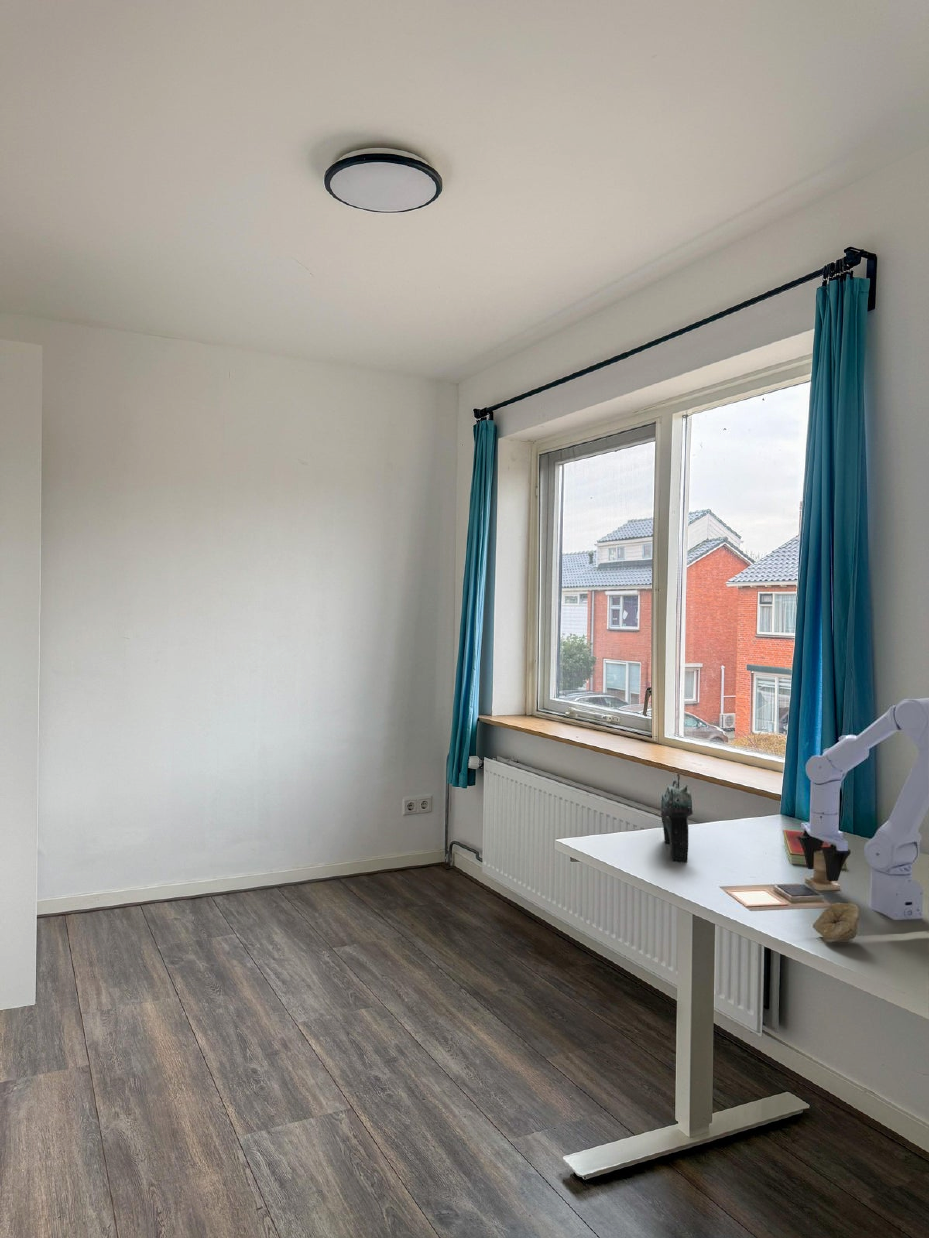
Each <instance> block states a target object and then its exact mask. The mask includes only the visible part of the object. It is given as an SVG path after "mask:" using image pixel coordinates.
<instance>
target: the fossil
mask: <svg viewBox="0 0 929 1238" xmlns="http://www.w3.org/2000/svg"><path fill="white" fill-rule="evenodd" d="M860 911H861V910H860V909H859V907H858V906H857V905H856V904H855V903H842V902H836V903H832V904H831V906H829V907H828V908H824V910H823V911H822V913H821V914H820V916H819V917H818V918H817V920H815V922H813V924H812V928H813V929H814V930H815V931H816V932H817V933H818V934H820V936H818V937H819V939H821V940H822V941H823V942H827V943H847V942H849V941H851V940H853V939H855V938H856V937H857V935H858V923H859V921H860V914H861V913H860Z"/></svg>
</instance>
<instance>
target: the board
mask: <svg viewBox="0 0 929 1238" xmlns="http://www.w3.org/2000/svg"><path fill="white" fill-rule="evenodd" d="M799 884H800V883H777V884H776V883H774V884H749V885H748V884H747V885H726V886H725V885H724V886H723V885H722V886H721V885H720V886H718V887H719V888H720V889H721V890H723V891H724V892H725V890H748V889H767V890H768V891H770V892H771V893H772V894H774V895H775V896H777V897H778V898H780V899H781V900H783V901H784V902H786V903H787V904H788V905H782V906H759V907H745V906H744V905H742V906H744V907H745V908H746V909H747V910H749V911H751V912H760V911H780V910H802V909H803V910H805V909H827V908H828V907H829V906H831V905H832V904H831V903H830V902H828V901H827V900H825V899H823V901H809V902H790V901H789V900H787V899H786V898H784V897H783V896H781V895H780V894H778V893H777V892H775V891H774V886H776V885H799ZM725 893H727V892H725ZM727 894H728V893H727ZM729 896H730V897H732V896H731V895H729ZM733 899H734V900H736V899H735V898H733ZM737 902H738V903H740V902H739V901H737Z"/></svg>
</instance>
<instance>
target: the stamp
mask: <svg viewBox="0 0 929 1238" xmlns="http://www.w3.org/2000/svg"><path fill="white" fill-rule="evenodd" d="M804 883H805V884H806V885H808V886H811V887H812V888H813V889H815V891H816V890H817V891H835V890H838V891H839V890H840V889H841V884H839V883H837V881H828V880H827V876H826V864H825V859H824V855H823V852H822V851H816V852H814V869H813V877H804Z"/></svg>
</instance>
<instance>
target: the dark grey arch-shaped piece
mask: <svg viewBox="0 0 929 1238" xmlns="http://www.w3.org/2000/svg"><path fill="white" fill-rule="evenodd" d="M676 776H677V780H674V781H673V782H672V785H671V786H670V785H669V786H667V787H666V791H665V794H662V795H661V805H660V817H661V823H662V826H663V827H662V828H663V837H664V839H663V840H664V843H665V844H666V845H670V846H669V847H670V853H669V854H670V859H671V861H672V862H675V863H688V856H689V855H688V854H689V816H692V815H694V814H693V800H692V792H691V791H690V790H691V789H690V790H689V789H688V785H684V786H683V787H680V778H681V772H680V771H678V772H677V775H676Z"/></svg>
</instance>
